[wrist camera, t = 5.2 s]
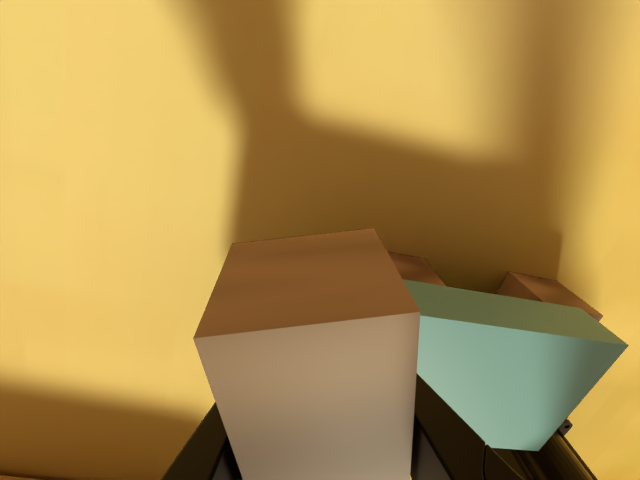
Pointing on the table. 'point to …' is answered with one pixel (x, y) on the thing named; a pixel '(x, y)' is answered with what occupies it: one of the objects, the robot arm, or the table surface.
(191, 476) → the robot arm
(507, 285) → the block
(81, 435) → the table surface
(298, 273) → the block
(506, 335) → the slab
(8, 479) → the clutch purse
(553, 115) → the table surface
